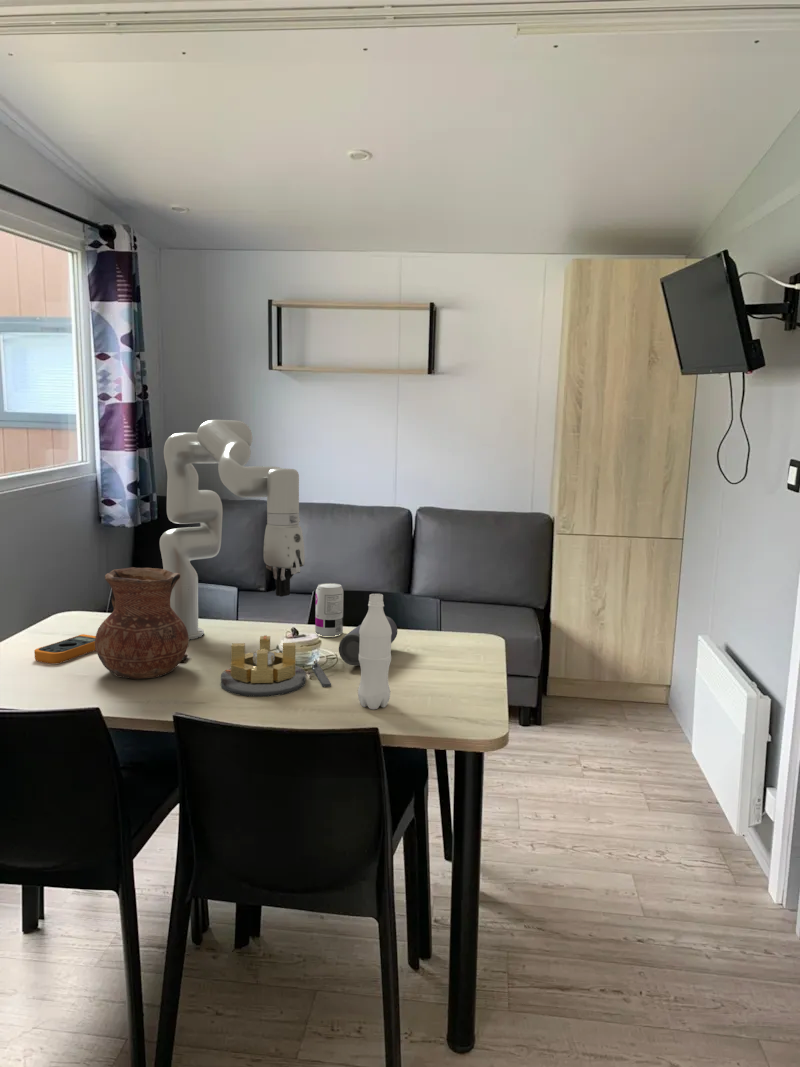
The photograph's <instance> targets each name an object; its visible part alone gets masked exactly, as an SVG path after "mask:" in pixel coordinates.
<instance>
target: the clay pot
mask: <svg viewBox="0 0 800 1067" xmlns="http://www.w3.org/2000/svg"><path fill="white" fill-rule="evenodd" d="M180 576H181V575H180V574H179V573H172V572H170V571H168V570H165V569H163V568H157V567H155V568H154V567H153V568H152V567H134V566H131V567H124V568H118V569H113V570H111V571H110V572H107V573H105V575H104V579H105V581H106V582H107V584H108V585H109V587H110V588H111V603H112V607H113V611H112V612H111V613H110V614H109V615H108V616H107V618H105V619H104V621H103V622H101V624H100V625H99V627H98V628H97V631H96V633H95V636H96V638H95V649H96V654H97V657H98V659H99V661H100V662H101V663H102V665H103V666H104V668H105V669H107V670H108V671H109V672H110V673H112V674H113V675H115V676H116V677H118V678H124V679H125V678H126V679H134V680H135V679H136V680H138V679H139V680H140V679H141V680H142V679H145V680H146V679H153V678H158V677H162V676H164V675H167V674H169V673H171V672H172V671H173V670H175V669H176V668H177V666H179V664H180V663H181V662H182V660H183V658H184V657H185V655H186V653H187V650H188V647H189V643H190V642H189V641H190V640H189V637H188V632H187V629H186V626H185V624H184V623H183V621H182V620H181V619H180V618H179V616H178V615H177V614H176V613H175V612H174V611H173V609H172V608H171V606H170V597H171V593H172V589H173V587H174V586H175V584H176V582H177V581H178V579H179V578H180Z"/></svg>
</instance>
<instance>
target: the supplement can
mask: <svg viewBox="0 0 800 1067" xmlns="http://www.w3.org/2000/svg"><path fill="white" fill-rule="evenodd" d="M314 617H315V619H314V620H315V624H314V625H315V628H314V629H315V631H314V632H316V633H317V634H320V635H322V636H335V635H339V634H341V635H342V634H344V633H343V632H344V631H343V630H344V589H343V586H342V585H341V584H340V583H334V582H333V583H332V582H327V583H326V582H325V583H319V584H318V585H317V587H316V589H315V616H314ZM316 633H315V634H316ZM317 634H316V635H317Z"/></svg>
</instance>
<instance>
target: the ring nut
mask: <svg viewBox="0 0 800 1067" xmlns="http://www.w3.org/2000/svg"><path fill="white" fill-rule="evenodd" d="M296 644H297V643H296V642H283V643H282V652H280V651H279V652H276V651H272V652H273V653H274V665H273V666H268V651H269V652H271V636H270V635H261V636H260V637H259V649H257V650H256V651H255V652H247V653H246V643H244V642H243V643H242V642H239V643H238V642H236V643H235V642H234V643H231V645H230V646H231V647H230V648H231V649H230V650H231V651H230V653H231V654H230V655H231V656H230V658H231V660H230V661H231V662H230V668H231V677H232V678H234V679H237V680H240V681H243V682H246V683H247V682H250V681H251V683H273V681H276V682H280V681H283V680H286V679H289V678H292V677H293V676H295V666H297V665H296V664H297V663H296V662H297V661H296V660H297V659H296V658H297V656H296V654H297V653H296ZM256 652H257V666H253V654H254V653H256Z"/></svg>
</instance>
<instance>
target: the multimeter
mask: <svg viewBox="0 0 800 1067" xmlns="http://www.w3.org/2000/svg"><path fill="white" fill-rule="evenodd" d="M95 638H96V635H91V634H85V633H83V634H82V633H81V634H78V635H76V636H72V637H70V638H67V639H63V640H61V641H57V642H54V643H51V644H48V645H44V646H41V647H38V648H36V649H34V650H33V651H34V659H35V661H37V662H39V663H44V664H51V665H58V664H63V663H65V662H67V661H70V660H73V659H75V658H78V657H81V656H83V655H87V654H90V653H93V652H95V651H96V649H95Z"/></svg>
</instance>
